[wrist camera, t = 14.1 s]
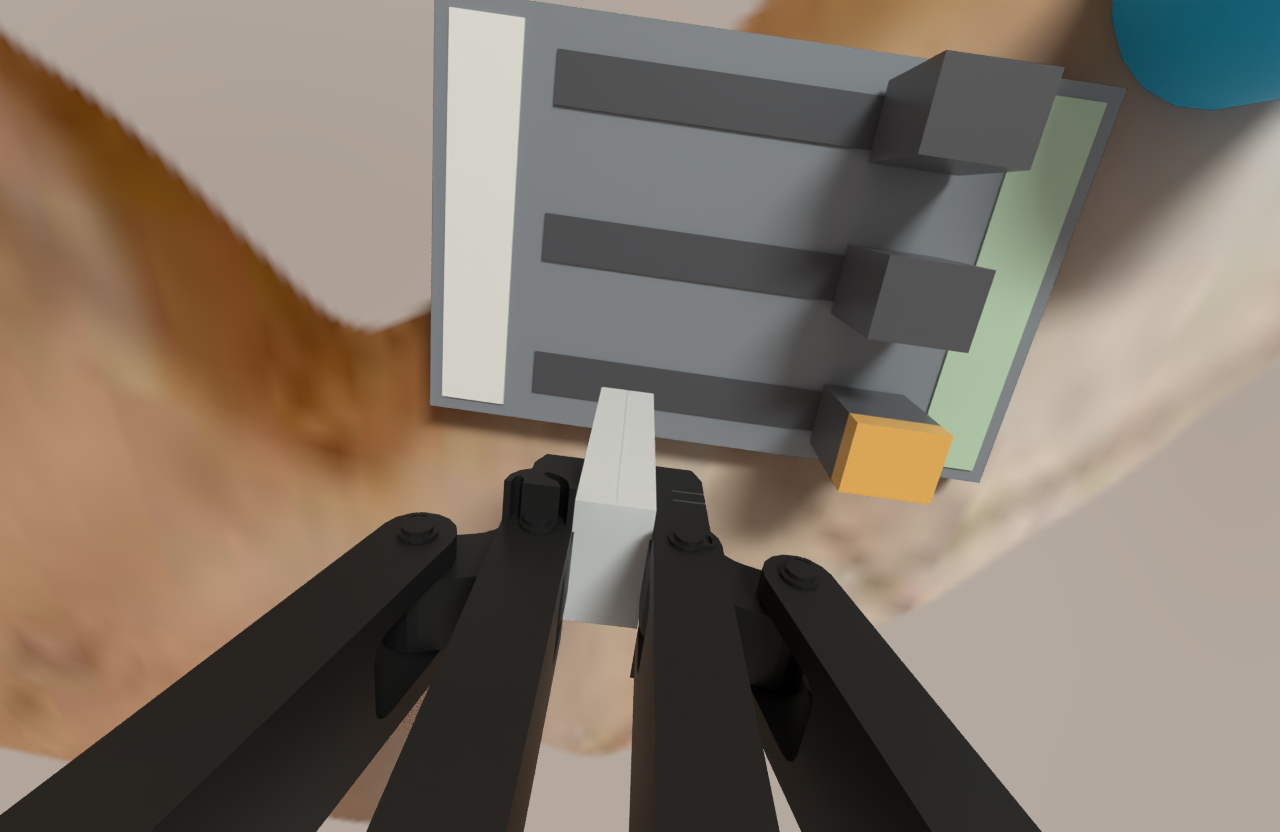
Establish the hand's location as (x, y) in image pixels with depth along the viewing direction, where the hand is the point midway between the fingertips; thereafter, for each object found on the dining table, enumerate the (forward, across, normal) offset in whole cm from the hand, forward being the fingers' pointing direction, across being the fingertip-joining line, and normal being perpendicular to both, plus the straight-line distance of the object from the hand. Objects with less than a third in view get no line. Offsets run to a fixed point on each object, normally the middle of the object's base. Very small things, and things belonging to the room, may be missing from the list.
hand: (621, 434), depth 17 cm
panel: (+7, +3, +5) cm, 9 cm away
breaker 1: (+6, +8, +10) cm, 14 cm away
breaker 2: (+6, +8, +5) cm, 11 cm away
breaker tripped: (+6, +9, 0) cm, 10 cm away
